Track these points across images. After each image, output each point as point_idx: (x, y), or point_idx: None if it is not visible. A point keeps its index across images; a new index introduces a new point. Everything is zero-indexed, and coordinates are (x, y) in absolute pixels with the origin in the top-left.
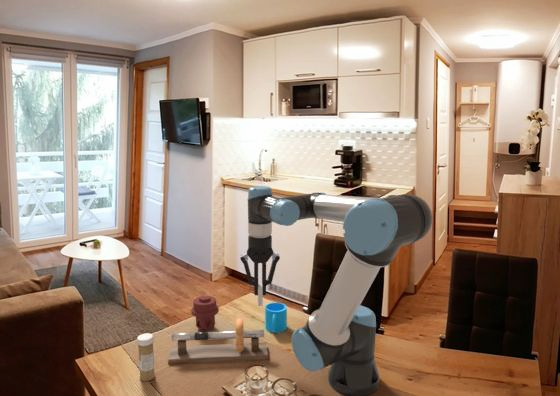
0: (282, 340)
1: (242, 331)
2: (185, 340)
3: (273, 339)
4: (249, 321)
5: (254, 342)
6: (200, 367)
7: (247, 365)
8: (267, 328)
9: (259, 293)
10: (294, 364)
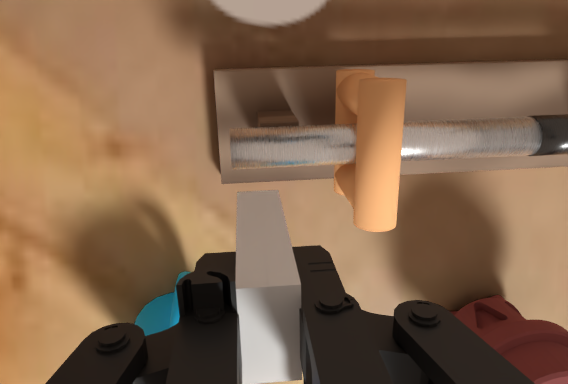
0: (149, 227)
1: (366, 80)
2: None
3: (191, 236)
4: None
5: (281, 118)
6: (512, 18)
7: (308, 21)
8: None
9: (273, 243)
10: (82, 14)
